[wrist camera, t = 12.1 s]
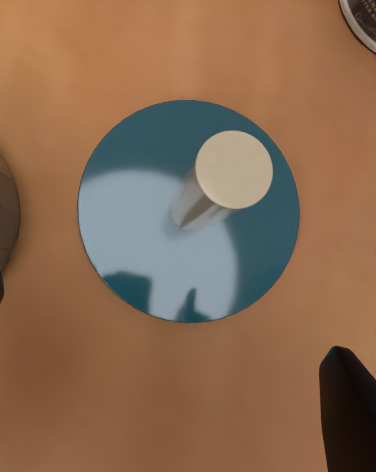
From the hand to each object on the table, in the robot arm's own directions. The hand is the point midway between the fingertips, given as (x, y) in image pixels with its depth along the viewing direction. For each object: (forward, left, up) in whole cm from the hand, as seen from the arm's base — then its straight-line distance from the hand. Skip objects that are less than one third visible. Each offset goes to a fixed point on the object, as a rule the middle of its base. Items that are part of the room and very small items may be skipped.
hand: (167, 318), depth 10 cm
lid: (+5, -2, -12) cm, 13 cm away
